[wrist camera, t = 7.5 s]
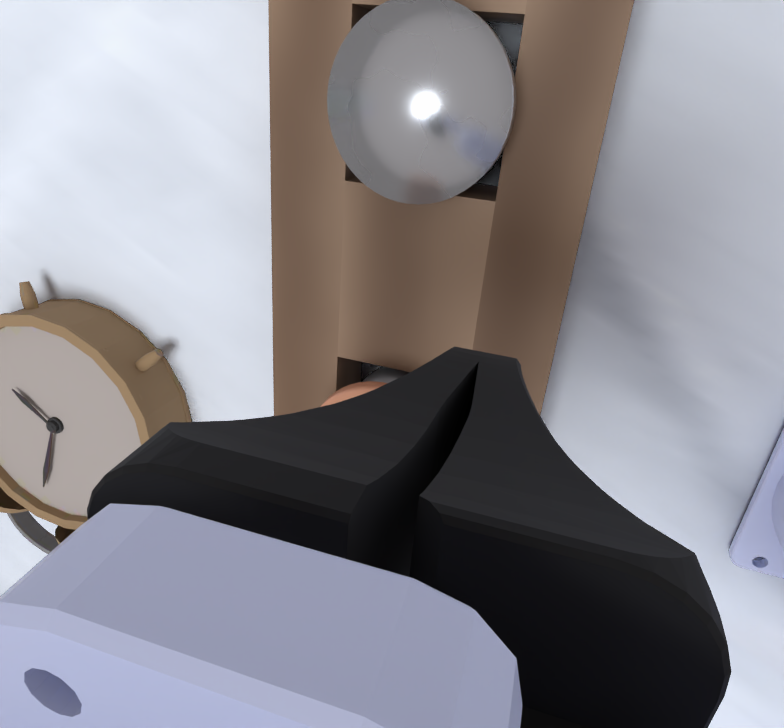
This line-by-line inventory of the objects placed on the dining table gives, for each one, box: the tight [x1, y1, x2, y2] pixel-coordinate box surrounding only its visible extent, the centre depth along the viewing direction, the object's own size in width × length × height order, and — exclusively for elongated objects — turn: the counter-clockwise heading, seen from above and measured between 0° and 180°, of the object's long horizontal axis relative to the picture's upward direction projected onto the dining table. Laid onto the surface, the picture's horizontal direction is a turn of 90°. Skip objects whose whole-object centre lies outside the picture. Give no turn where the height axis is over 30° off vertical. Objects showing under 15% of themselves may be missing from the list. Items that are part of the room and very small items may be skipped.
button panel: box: [269, 0, 634, 416], centre depth 20 cm, size 10×22×3 cm, turn 176°
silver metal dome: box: [327, 0, 516, 204], centre depth 17 cm, size 5×5×4 cm
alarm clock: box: [0, 281, 192, 554], centre depth 30 cm, size 11×5×15 cm
